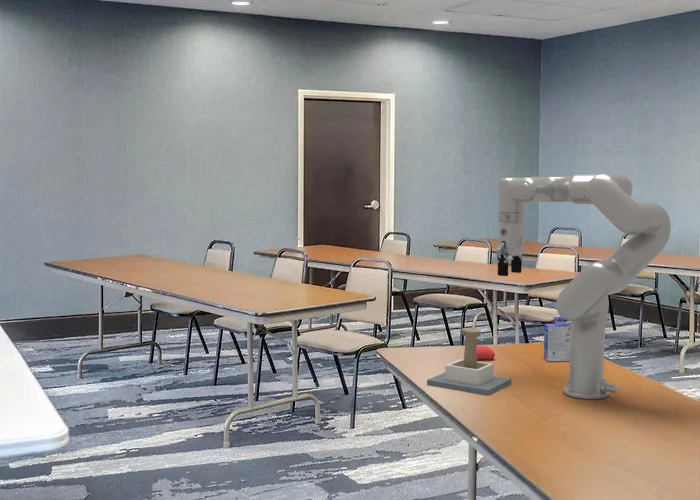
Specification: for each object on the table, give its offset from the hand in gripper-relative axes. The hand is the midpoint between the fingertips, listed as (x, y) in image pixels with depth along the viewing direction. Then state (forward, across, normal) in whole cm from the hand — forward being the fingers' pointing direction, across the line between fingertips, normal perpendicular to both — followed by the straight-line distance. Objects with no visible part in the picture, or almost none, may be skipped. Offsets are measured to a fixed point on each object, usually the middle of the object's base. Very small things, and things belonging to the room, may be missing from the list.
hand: (509, 274), depth 250 cm
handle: (+31, -14, +6) cm, 34 cm away
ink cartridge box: (+33, +33, -4) cm, 47 cm away
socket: (+32, -14, +6) cm, 36 cm away
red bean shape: (+33, +18, +18) cm, 41 cm away
